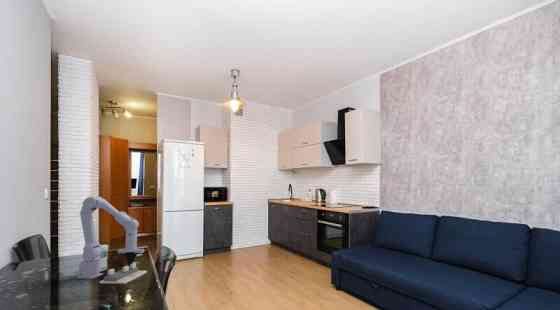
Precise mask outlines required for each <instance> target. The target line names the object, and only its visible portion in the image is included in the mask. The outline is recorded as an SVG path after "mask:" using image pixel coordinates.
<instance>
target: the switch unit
mask: <svg viewBox="0 0 560 310" xmlns="http://www.w3.org/2000/svg"><path fill="white" fill-rule="evenodd" d="M147 273H148V270H139V266H138V267H137V266H136V267H135V268H133V269H130V267H129V271H126V272H123V268H122V269H121V270H120V269H119V270H118V271H114V274H112V275H108V274H107V275H106V276H104V277H103V279H102V280H99V284H115V285H116V284H117V285H118V284H120V285H122V284H123V285H125V284H127V283H129V282H131V281H133V280H135V279H137V278H138V277H141V276H142V275H145V274H147Z"/></svg>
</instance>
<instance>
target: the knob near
mask: <svg viewBox="0 0 560 310" xmlns="http://www.w3.org/2000/svg"><path fill="white" fill-rule="evenodd" d="M114 273H115V268H110V269H107V276H108V275H112V274H114Z"/></svg>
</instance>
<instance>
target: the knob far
mask: <svg viewBox="0 0 560 310" xmlns="http://www.w3.org/2000/svg"><path fill="white" fill-rule="evenodd" d="M135 267H137V263H136V262H133V263H132V264H130V269H133V268H135Z"/></svg>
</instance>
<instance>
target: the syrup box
mask: <svg viewBox="0 0 560 310" xmlns="http://www.w3.org/2000/svg"><path fill="white" fill-rule="evenodd" d="M100 247H101V248H102V250H103V253H102V255H101V256H100V270H99V273H100V272H103V271H106V270H108V267H109V266H108V263H109V262H108V261H109V260H108V259H109V244H100Z"/></svg>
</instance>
